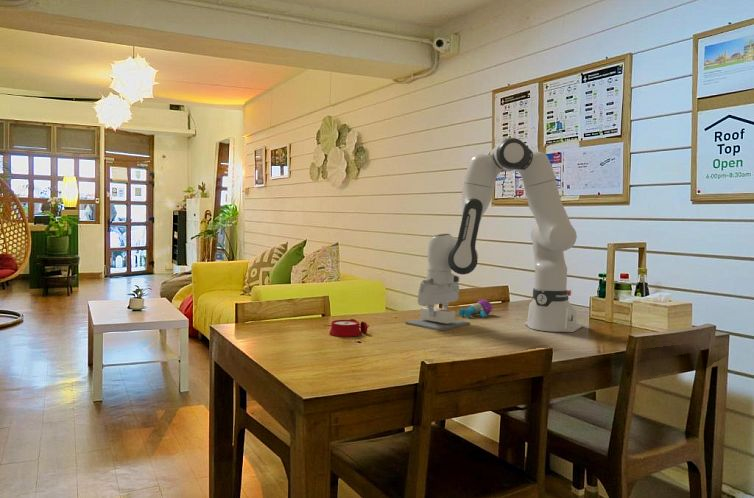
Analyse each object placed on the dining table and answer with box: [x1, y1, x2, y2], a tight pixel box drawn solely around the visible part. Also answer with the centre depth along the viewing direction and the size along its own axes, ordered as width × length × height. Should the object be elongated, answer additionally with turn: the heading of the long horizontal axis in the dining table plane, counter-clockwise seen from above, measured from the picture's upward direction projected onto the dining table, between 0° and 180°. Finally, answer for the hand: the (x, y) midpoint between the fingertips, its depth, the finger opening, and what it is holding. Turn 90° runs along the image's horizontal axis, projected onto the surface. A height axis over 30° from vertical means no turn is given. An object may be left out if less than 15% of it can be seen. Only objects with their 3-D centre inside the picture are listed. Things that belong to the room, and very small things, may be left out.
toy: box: [458, 298, 495, 319], centre depth 237 cm, size 12×7×15 cm
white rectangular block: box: [420, 306, 456, 324], centre depth 218 cm, size 12×5×4 cm, turn 46°
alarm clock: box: [324, 318, 370, 338], centre depth 198 cm, size 10×6×15 cm
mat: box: [404, 318, 471, 331], centre depth 218 cm, size 18×16×1 cm
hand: (437, 315), depth 218 cm, fingers closed on white rectangular block, 5 cm apart
